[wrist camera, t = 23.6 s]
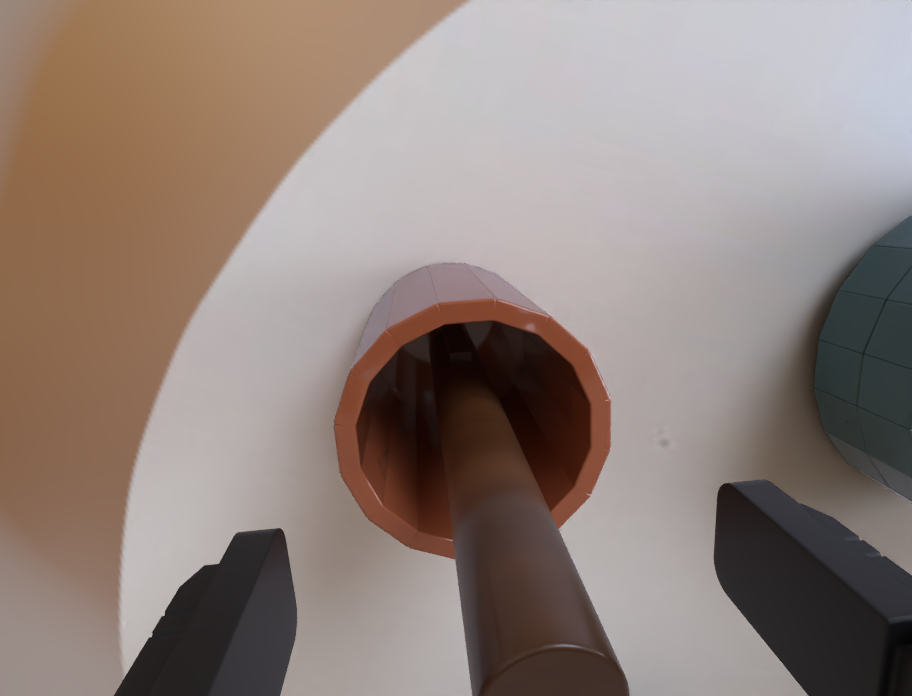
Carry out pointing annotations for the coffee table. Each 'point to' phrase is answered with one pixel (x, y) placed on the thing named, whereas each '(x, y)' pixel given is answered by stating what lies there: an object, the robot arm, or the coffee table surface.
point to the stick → (510, 549)
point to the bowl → (871, 364)
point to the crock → (415, 414)
